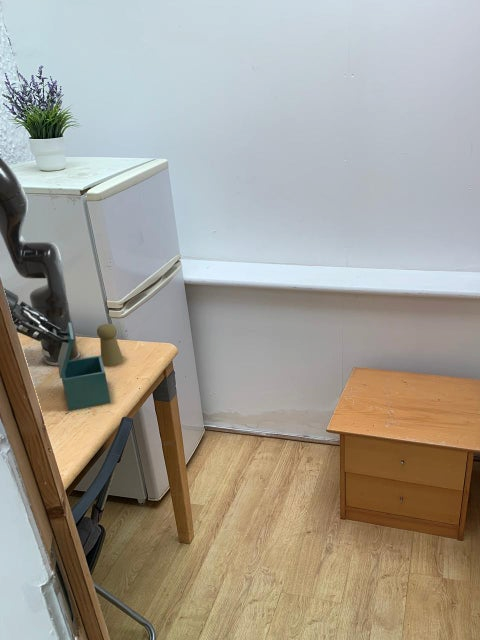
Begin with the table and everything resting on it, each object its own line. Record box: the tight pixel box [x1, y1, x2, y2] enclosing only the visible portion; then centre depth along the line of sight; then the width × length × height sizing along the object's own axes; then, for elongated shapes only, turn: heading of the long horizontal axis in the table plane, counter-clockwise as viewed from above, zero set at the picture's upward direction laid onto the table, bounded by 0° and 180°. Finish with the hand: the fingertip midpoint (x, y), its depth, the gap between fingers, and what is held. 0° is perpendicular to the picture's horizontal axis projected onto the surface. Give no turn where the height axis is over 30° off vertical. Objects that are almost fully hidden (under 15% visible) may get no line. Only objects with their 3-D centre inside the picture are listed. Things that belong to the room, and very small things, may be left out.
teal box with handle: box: [49, 322, 74, 379], centre depth 146 cm, size 10×10×5 cm
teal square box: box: [61, 354, 112, 412], centre depth 153 cm, size 10×10×9 cm
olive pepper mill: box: [96, 323, 124, 367], centre depth 169 cm, size 6×6×11 cm
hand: (59, 337), depth 145 cm, fingers closed on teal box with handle, 5 cm apart
